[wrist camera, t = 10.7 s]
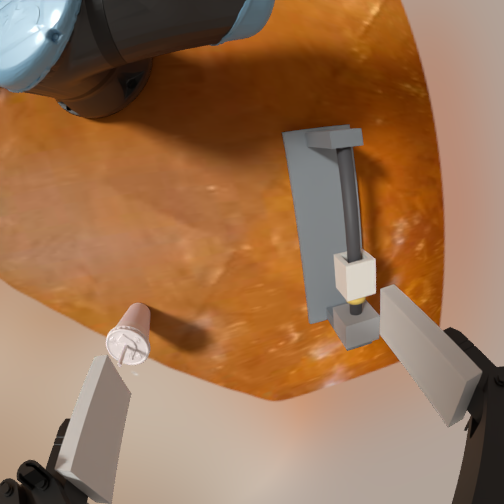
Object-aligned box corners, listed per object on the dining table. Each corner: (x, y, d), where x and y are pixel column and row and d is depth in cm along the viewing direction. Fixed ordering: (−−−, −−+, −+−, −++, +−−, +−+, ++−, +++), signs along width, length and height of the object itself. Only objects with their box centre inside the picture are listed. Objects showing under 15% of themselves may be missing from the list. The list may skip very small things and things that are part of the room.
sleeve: (333, 254, 40) (345, 266, 36) (361, 247, 41) (375, 258, 37) (335, 287, 42) (347, 301, 38) (362, 280, 42) (375, 293, 38)
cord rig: (281, 132, 41) (306, 129, 30) (347, 124, 41) (387, 122, 30) (308, 321, 52) (330, 364, 41) (361, 307, 52) (392, 344, 42)
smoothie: (155, 294, 47) (138, 348, 34) (161, 328, 49) (149, 386, 36) (117, 296, 46) (90, 348, 33) (125, 329, 48) (105, 385, 35)
